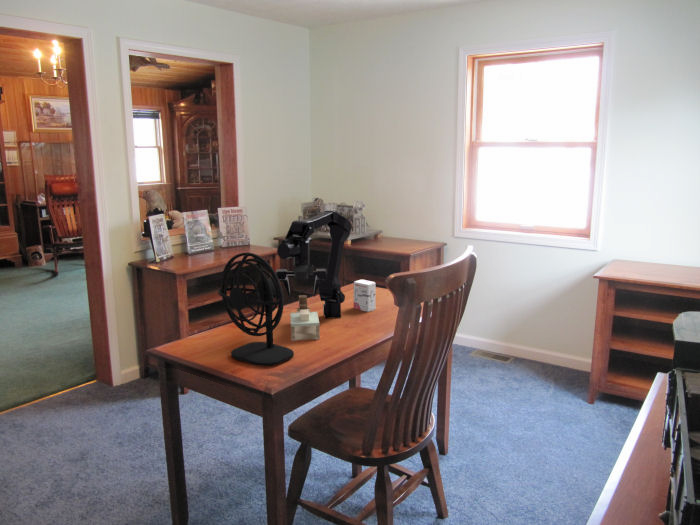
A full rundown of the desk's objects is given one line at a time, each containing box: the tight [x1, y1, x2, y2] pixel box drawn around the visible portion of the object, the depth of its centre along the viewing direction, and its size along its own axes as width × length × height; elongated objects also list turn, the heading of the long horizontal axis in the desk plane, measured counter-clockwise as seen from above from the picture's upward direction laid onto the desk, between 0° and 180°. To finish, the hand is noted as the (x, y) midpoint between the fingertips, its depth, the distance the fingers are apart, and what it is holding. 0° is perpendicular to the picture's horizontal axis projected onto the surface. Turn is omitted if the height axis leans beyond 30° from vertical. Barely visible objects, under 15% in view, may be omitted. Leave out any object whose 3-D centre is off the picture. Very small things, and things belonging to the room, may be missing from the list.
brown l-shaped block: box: [298, 294, 308, 310], centre depth 216 cm, size 3×7×4 cm, turn 7°
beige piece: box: [290, 306, 321, 341], centre depth 207 cm, size 10×20×6 cm, turn 7°
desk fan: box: [217, 252, 295, 367], centre depth 179 cm, size 27×18×35 cm, turn 54°
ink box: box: [353, 279, 377, 313], centre depth 234 cm, size 9×5×12 cm, turn 47°
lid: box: [290, 309, 320, 328], centre depth 204 cm, size 10×14×4 cm
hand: (301, 296), depth 208 cm, fingers open, 9 cm apart
